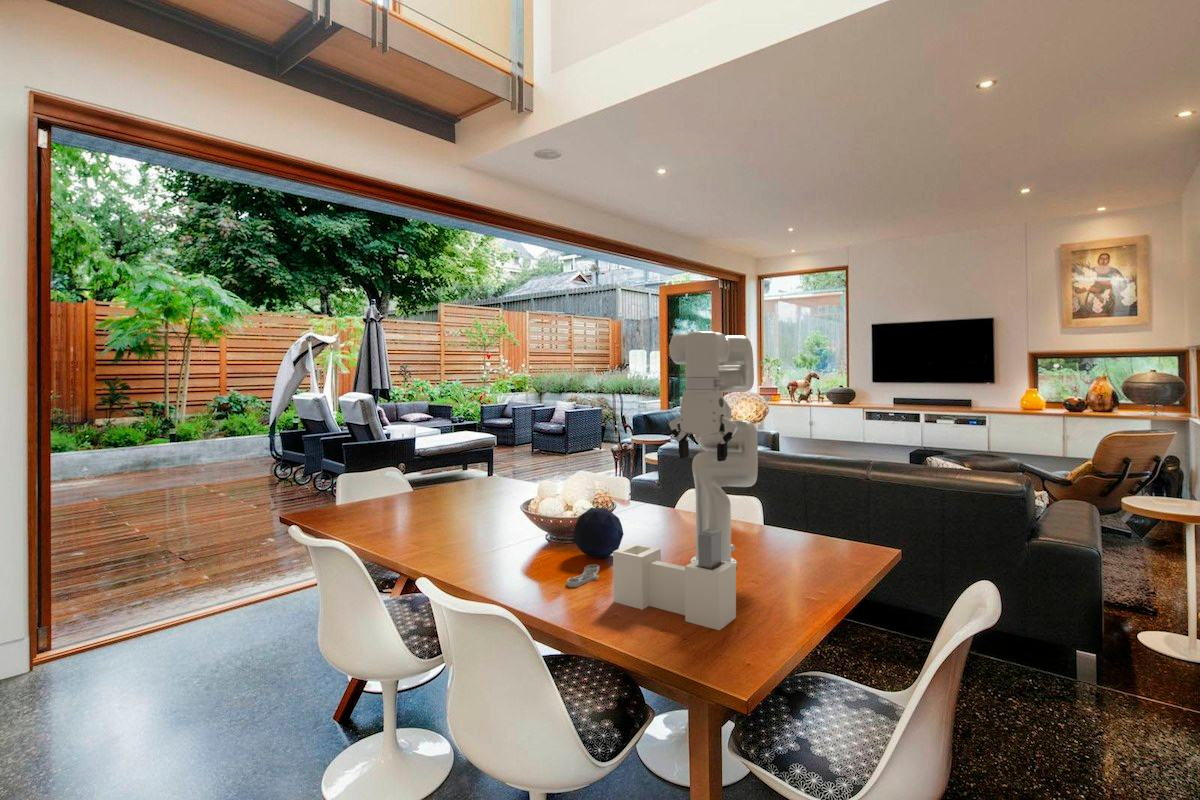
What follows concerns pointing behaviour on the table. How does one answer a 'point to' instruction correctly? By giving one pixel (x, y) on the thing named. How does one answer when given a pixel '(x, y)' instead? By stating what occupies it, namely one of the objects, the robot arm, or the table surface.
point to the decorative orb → (598, 533)
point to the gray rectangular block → (709, 549)
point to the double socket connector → (675, 586)
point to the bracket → (584, 576)
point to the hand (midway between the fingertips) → (702, 459)
